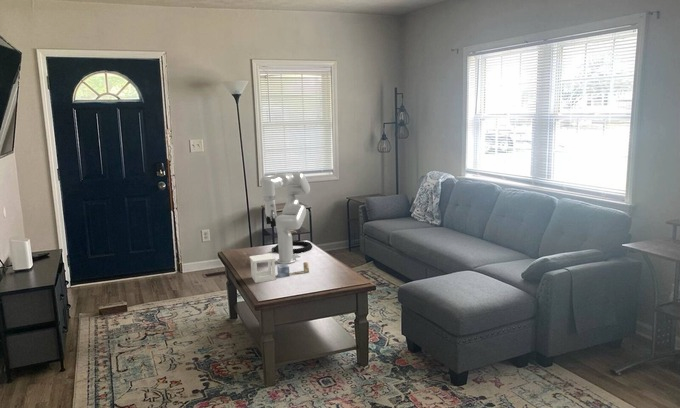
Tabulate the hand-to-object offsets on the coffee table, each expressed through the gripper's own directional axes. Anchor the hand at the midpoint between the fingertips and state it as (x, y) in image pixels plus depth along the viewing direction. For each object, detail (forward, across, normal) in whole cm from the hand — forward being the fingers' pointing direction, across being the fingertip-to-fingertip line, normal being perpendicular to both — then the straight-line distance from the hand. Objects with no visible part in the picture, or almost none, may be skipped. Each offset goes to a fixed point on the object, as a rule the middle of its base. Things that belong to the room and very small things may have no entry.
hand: (271, 225), depth 327 cm
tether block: (+29, -15, -8) cm, 34 cm away
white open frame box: (+29, -14, +11) cm, 34 cm away
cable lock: (+30, +44, -26) cm, 59 cm away
